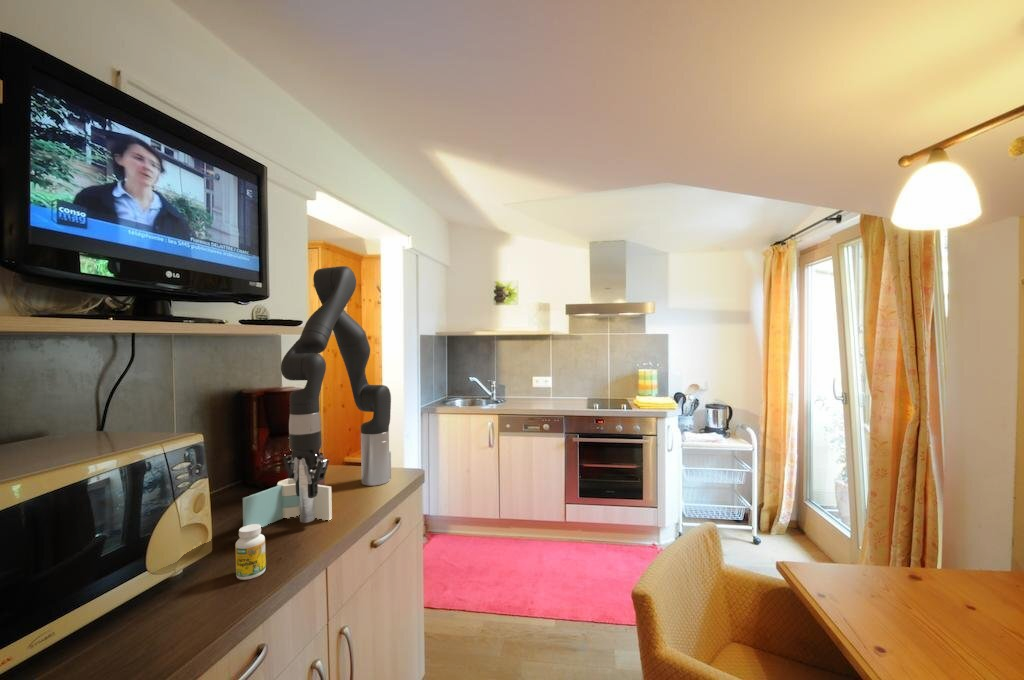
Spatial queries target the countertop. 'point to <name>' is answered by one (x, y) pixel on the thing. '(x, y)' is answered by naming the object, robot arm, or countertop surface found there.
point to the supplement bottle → (250, 552)
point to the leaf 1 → (266, 506)
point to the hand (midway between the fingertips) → (306, 495)
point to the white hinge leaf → (320, 501)
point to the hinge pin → (305, 497)
